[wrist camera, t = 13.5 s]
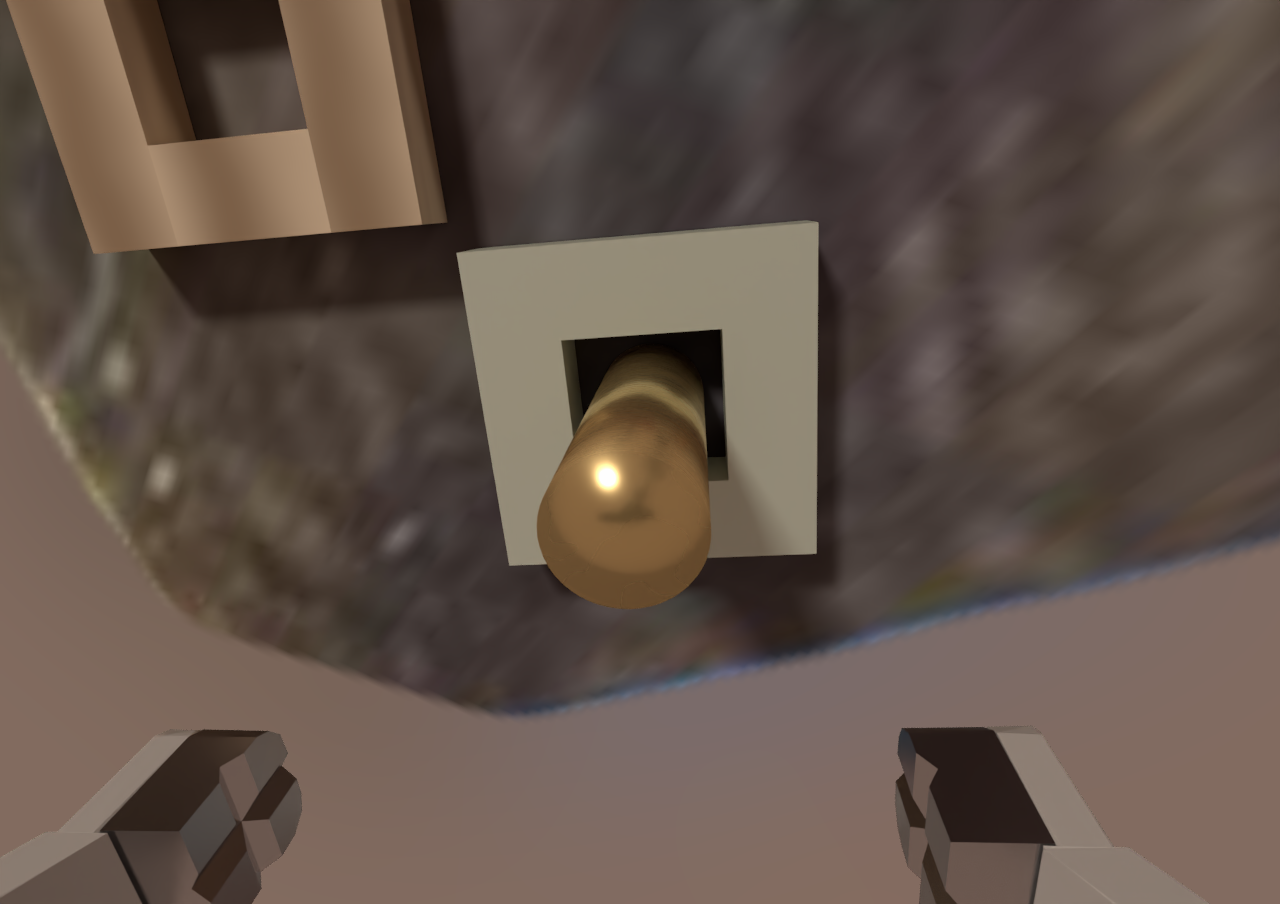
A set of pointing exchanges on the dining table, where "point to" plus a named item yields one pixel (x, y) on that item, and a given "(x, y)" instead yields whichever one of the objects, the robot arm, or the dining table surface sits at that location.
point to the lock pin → (633, 486)
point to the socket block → (651, 304)
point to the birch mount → (242, 165)
